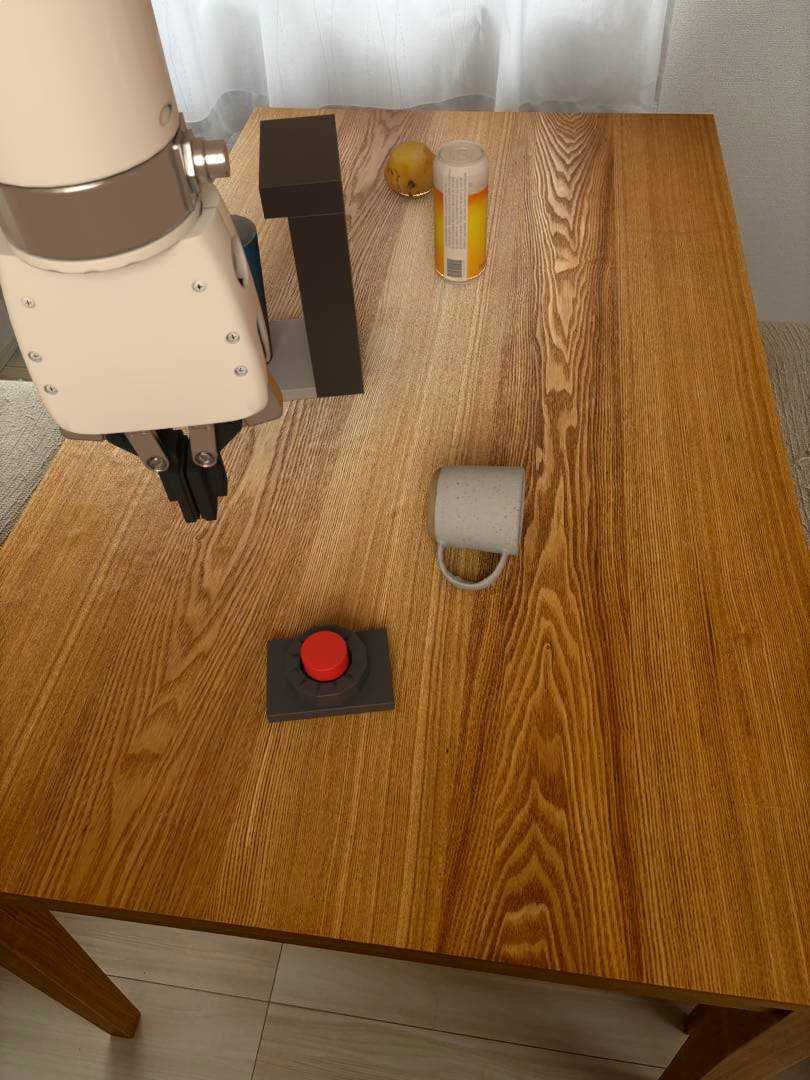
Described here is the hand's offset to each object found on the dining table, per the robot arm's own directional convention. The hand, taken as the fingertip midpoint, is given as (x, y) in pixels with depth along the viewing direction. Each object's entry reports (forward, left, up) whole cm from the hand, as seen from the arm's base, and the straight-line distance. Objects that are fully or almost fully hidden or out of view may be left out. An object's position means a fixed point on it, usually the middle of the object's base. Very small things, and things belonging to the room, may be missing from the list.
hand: (203, 501), depth 47 cm
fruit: (+18, +77, -27) cm, 84 cm away
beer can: (+22, +58, -27) cm, 68 cm away
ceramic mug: (+18, +16, -27) cm, 36 cm away
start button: (+4, +4, -24) cm, 25 cm away
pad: (+4, +4, -27) cm, 28 cm away
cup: (-3, +44, -26) cm, 51 cm away
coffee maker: (0, +44, -27) cm, 52 cm away
